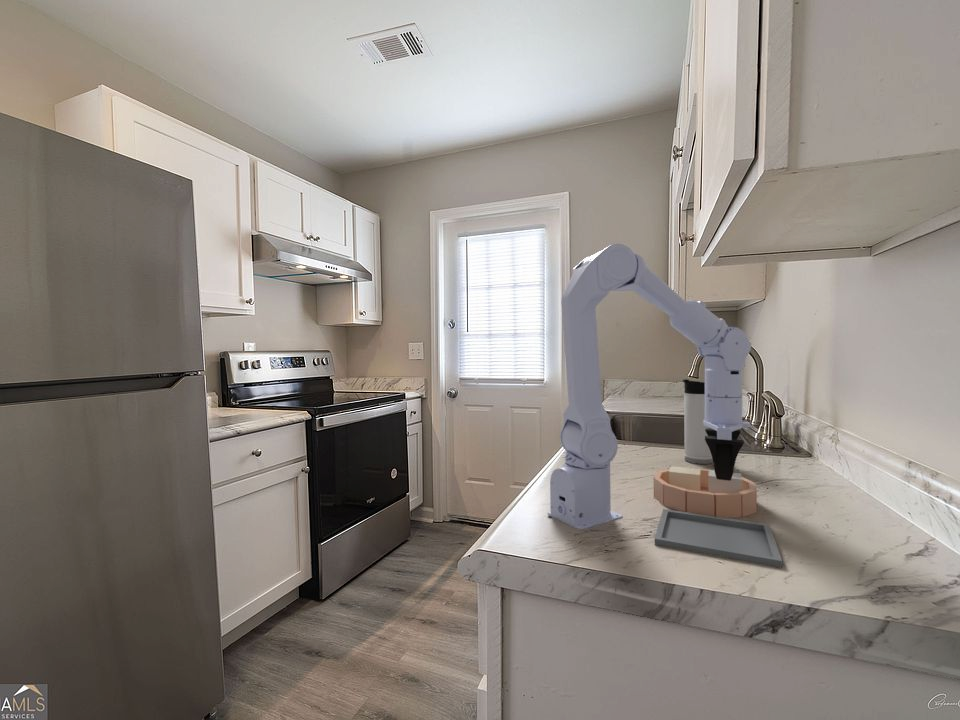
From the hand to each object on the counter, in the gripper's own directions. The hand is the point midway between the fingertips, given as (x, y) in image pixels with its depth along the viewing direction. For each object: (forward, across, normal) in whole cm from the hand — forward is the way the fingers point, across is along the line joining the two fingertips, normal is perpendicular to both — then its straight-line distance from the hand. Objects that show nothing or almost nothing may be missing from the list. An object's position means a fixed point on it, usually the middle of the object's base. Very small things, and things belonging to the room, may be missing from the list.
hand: (723, 473), depth 76 cm
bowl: (+6, 0, +3) cm, 6 cm away
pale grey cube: (+5, 0, 0) cm, 5 cm away
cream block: (+5, 0, +6) cm, 8 cm away
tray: (+6, -16, +2) cm, 17 cm away
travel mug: (+6, +32, +5) cm, 32 cm away
